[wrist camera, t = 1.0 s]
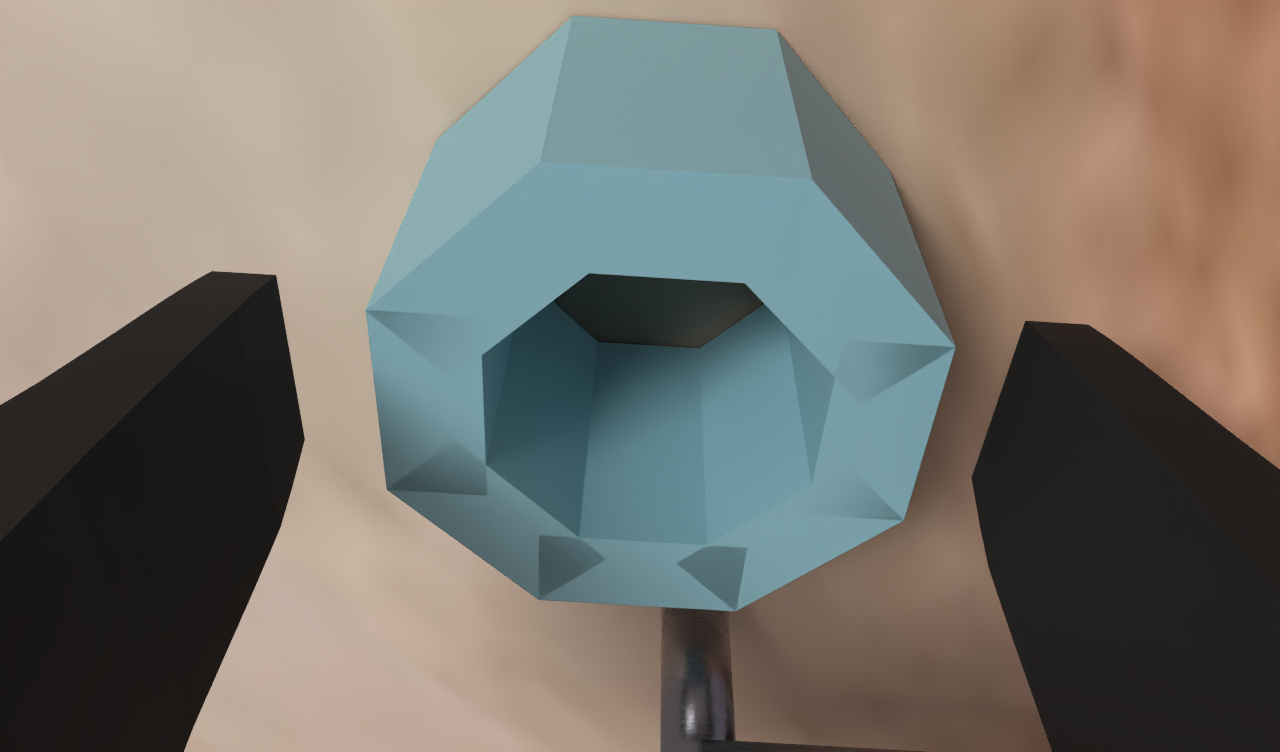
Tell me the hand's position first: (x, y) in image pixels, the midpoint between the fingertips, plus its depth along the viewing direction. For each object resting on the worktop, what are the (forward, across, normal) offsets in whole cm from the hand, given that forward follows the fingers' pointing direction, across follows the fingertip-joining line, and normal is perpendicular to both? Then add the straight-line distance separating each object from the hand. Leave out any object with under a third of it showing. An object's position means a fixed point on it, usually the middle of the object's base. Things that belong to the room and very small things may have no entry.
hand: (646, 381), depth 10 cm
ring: (+3, 0, 0) cm, 3 cm away
